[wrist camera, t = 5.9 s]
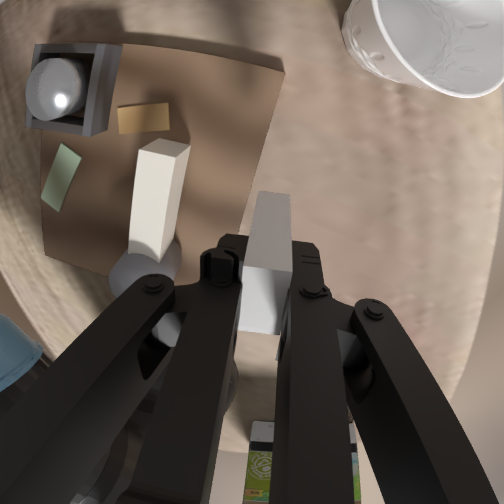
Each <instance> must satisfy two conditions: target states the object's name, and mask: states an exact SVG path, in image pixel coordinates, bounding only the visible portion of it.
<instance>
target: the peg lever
mask: <svg viewBox="0 0 504 504" xmlns="http://www.w3.org/2000/svg"><path fill="white" fill-rule="evenodd" d="M190 148H191V145H188V144H183V143H179V142H175V141H170V140H166V139H161V138H158V139H157V140H155V141H153V142H151V143H149V144H148V145H146V146H144V147H142V148H141V149H139V153H138V160H137V167H136V174H135V182H134V191H133V200H132V209H131V220H130V231H129V245H128V249H127V250H126V251H125V252H124V254H123V255H122V256H121V258H120V259H119V260H118V262H117V263H116V264H115V266H114V267H113V268H112V270H111V271H110V274H109V279H108V281H109V287H110V289H111V291H112V293H113V295H114V296H115V298H116V299H117V298H118V297H119V296H120V295H121V294H122V293H123V292H124V291H125V290H126V289H127V288H128V287H129V286H131V285H132V284H133V283H134V282H135V281H136V280H137V279H139V278H140V277H142V276H144V275H148V274H156V273H158V274H163V275H166V276H168V277H170V278H171V279H172V280H174V278H175V276H176V274H177V272H178V270H179V268H180V265H181V263H182V253H181V250H180V247H179V245H178V244H177V243H176V241H175V240H174V239H173V238H174V232H175V226H176V220H177V214H178V209H179V203H180V198H181V192H182V187H183V182H184V177H185V172H186V167H187V162H188V157H189V153H190Z"/></svg>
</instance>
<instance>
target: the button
mask: <svg viewBox="0 0 504 504" xmlns="http://www.w3.org/2000/svg"><path fill="white" fill-rule="evenodd" d="M91 71H92V68H91V66H90V65H89V64H88V63H87V62H86V61H85V60H83V59H80V58H51V59H46V60H43V61H42V62H40V63H39V64H37V65H36V66H35V67H34V69H33V70H32V72H31V73H30V75H29V77H28V80H27V83H26V89H25V98H26V103H27V106H28V108H29V110H30V112H31V113H32V115H33V116H35V117H36V118H37V119H39V120H43V121H49V120H52V119H56V118H59V117H62V116H66V115H69V114H73V113H76V112H78V111H80V110H82V109H83V108H84V107H85V106H86V101H87V94H88V88H89V82H90V76H91Z"/></svg>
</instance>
